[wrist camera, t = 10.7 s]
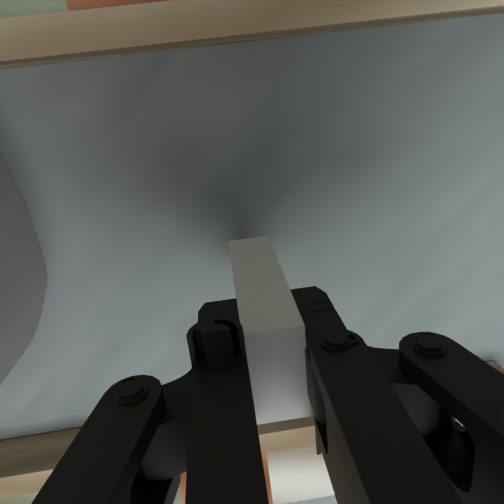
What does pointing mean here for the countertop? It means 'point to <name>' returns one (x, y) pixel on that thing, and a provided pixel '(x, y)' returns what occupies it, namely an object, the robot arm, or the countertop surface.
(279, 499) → the track
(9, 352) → the lumpy-topped squat cylinder
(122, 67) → the countertop surface
